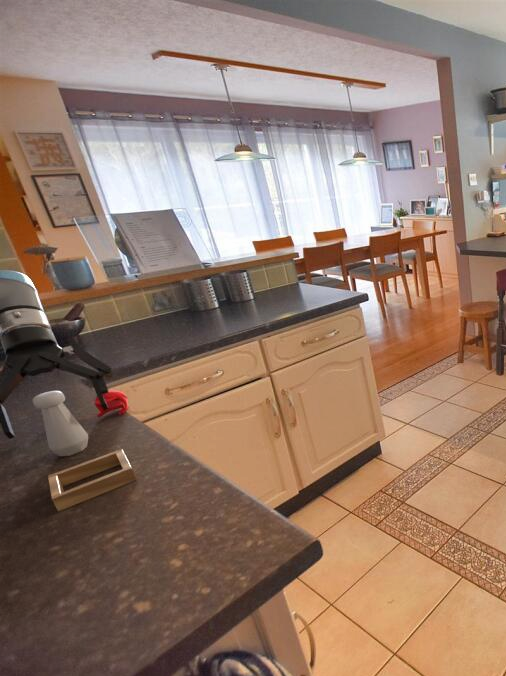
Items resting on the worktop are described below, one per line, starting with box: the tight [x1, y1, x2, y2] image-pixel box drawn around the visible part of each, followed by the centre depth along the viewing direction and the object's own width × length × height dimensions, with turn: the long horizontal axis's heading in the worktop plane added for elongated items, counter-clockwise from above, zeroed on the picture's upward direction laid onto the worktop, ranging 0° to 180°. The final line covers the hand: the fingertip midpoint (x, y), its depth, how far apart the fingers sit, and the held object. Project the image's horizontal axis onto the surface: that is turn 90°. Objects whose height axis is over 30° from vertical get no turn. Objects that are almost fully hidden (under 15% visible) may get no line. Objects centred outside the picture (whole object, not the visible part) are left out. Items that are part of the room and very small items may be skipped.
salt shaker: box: [32, 390, 89, 457], centre depth 87 cm, size 6×6×13 cm
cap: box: [94, 390, 130, 418], centre depth 103 cm, size 8×6×6 cm
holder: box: [47, 448, 138, 513], centre depth 77 cm, size 10×10×2 cm
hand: (59, 420), depth 86 cm, fingers open, 13 cm apart
